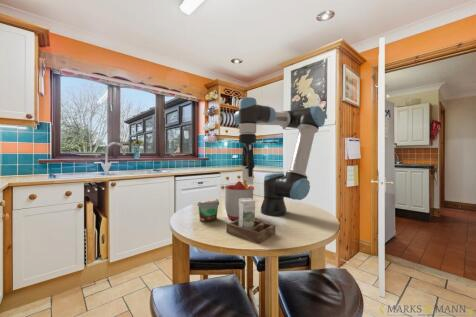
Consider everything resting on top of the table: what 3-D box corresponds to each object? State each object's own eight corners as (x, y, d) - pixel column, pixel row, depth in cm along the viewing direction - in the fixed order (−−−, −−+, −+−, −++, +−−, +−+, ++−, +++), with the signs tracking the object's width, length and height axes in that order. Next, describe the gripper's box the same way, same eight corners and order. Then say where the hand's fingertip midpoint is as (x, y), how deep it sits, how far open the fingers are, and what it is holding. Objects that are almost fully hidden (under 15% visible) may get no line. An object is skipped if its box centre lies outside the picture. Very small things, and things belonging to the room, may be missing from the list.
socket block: (243, 225, 107) (243, 217, 106) (275, 234, 96) (275, 225, 96) (226, 232, 97) (226, 223, 97) (259, 243, 86) (259, 233, 86)
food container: (203, 224, 107) (204, 204, 107) (197, 221, 112) (197, 202, 111) (223, 219, 115) (224, 200, 115) (217, 216, 120) (217, 198, 119)
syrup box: (249, 228, 101) (250, 197, 101) (254, 233, 96) (255, 200, 95) (238, 229, 100) (238, 198, 99) (242, 234, 94) (242, 201, 94)
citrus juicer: (259, 215, 123) (260, 180, 122) (244, 224, 108) (245, 184, 107) (235, 211, 131) (236, 178, 130) (218, 219, 116) (219, 181, 115)
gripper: (236, 135, 108) (236, 178, 109) (242, 131, 83) (242, 187, 84) (251, 135, 109) (251, 178, 110) (262, 132, 84) (261, 186, 85)
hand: (247, 182), depth 97 cm, fingers open, 13 cm apart
